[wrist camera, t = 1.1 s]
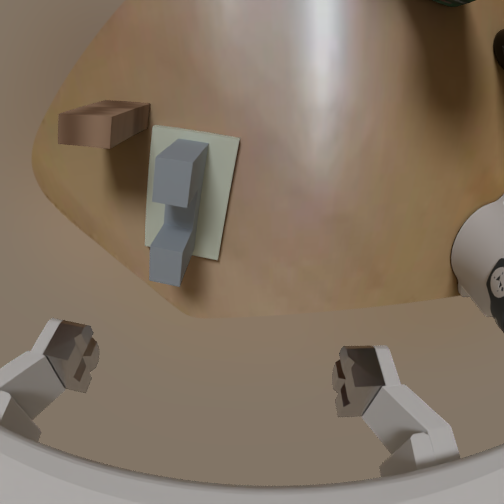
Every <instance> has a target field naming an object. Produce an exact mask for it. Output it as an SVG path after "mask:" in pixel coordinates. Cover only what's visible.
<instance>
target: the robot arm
mask: <svg viewBox="0 0 504 504" xmlns="http://www.w3.org/2000/svg"><path fill="white" fill-rule="evenodd" d="M451 264H452V268H453V271H454V273H455V275H456V277H457V279H458V292H459V293H460V295H461V296H462V297H471V299H472V300H473V301H474V303H475V304H476V305H477V307H478V308H479V309H480V310H481V312H482V313H483V314H484V315H485V316H486V317H489V316H490V317H494V319H495V322H496V324H497V325H498V327H499V328H500V329H501V330H502V331H503V332H504V195H503V196H502V197H501V198H499V199H498V200H497V201H495V202H493V203H490V204H487V205H485V206H483V207H481V208H480V209H478V210H477V211H476V212H475V213H473V214H472V215H471V216H470V217H469V218H468V219H467V221H466V222H465V223H464V225H463V226H462V228H461V229H460V231H459V233H458V235H457V237H456V239H455V242H454V245H453V248H452V254H451ZM92 335H93V331H92V328H91V326H89V325H84V324H79V323H74V322H69V321H65V320H60V319H55V318H52V319H50V320H49V321H48V322H47V324H46V326H45V327H44V329H43V331H42V332H41V334H40V336H39V338H38V339H37V341H36V343H35V344H34V346H33V348H32V350H31V352H30V351H26V352H25V353H23V354H22V355H20V356H19V357H17V358H15V359H14V360H13V361H11V362H9V363H8V364H6V365H5V366H3V367H2V368H0V504H504V444H502V445H499V446H496V447H493V448H491V449H488V450H485V451H482V452H479V453H476V454H474V455H470V456H468V457H464V458H460V455H459V452H458V448H457V445H456V441H455V438H454V435H453V432H452V429H451V426H450V425H449V424H448V423H447V422H446V421H445V420H443V419H442V418H441V417H440V416H439V415H438V414H437V413H436V412H435V411H434V410H433V409H431V408H430V407H429V406H428V405H427V404H426V403H425V402H424V401H423V400H421V399H420V398H419V397H418V396H417V395H416V394H415V393H414V392H413V391H412V390H410V389H409V388H408V387H407V386H406V385H401V383H400V380H399V377H398V374H397V371H396V368H395V365H394V362H393V359H392V356H391V353H390V350H389V348H388V347H387V346H343V347H342V348H341V350H340V353H339V356H340V360H338V361H337V362H336V363H335V365H334V368H333V374H332V383H333V389H334V390H335V391H336V392H337V393H338V396H337V398H336V400H335V403H336V409H337V415H338V417H354V416H362V418H363V420H364V421H365V422H366V423H367V425H368V426H369V427H370V428H371V430H372V431H373V432H374V433H375V434H376V436H377V437H378V438H379V439H380V441H381V442H382V443H383V444H384V446H385V447H386V448H387V449H388V451H389V452H390V453H391V454H392V455H391V456H390V457H389V458H388V459H387V460H385V461H384V462H383V463H382V464H381V466H380V473H381V477H379V478H373V479H366V480H359V481H351V482H342V483H331V484H318V485H299V486H298V485H297V486H252V485H232V484H218V483H208V482H198V481H190V480H183V479H176V478H169V477H163V476H158V475H152V474H147V473H142V472H137V471H132V470H128V469H124V468H119V467H115V466H111V465H108V464H104V463H100V462H96V461H93V460H89V459H86V458H82V457H79V456H76V455H73V454H70V453H67V452H64V451H61V450H59V449H56V448H53V447H50V446H48V445H45V444H42V443H40V442H38V440H39V438H40V435H41V431H40V429H39V428H38V426H37V425H36V424H35V423H34V422H33V421H32V420H33V419H34V418H35V417H36V416H37V415H38V414H40V413H41V412H42V411H43V410H44V409H45V408H46V407H47V406H48V405H49V404H50V403H51V402H53V401H54V400H55V399H56V398H57V397H58V396H59V395H60V394H61V393H63V392H64V391H65V389H69V390H74V391H78V392H83V393H86V392H87V389H88V386H89V384H90V381H91V379H92V377H91V374H90V372H91V371H92V370H94V369H95V368H96V366H97V364H98V360H99V346H98V344H97V342H96V341H95V340H94V339H93V338H92Z"/></svg>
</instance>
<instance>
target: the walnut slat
mask: <svg viewBox="0 0 504 504" xmlns="http://www.w3.org/2000/svg"><path fill="white" fill-rule="evenodd" d="M149 109H150V104H149V103H138V102H126V101H110V100H104V101H101V102H97V103H93V104H90V105H86V106H83V107H79V108H76V109H73V110H70V111H66V112H63V113H60V114H59V120H58V144H67V145H78V146H88V147H98V148H107V149H110V148H112V147H114V146H116V145H117V144H119V143H121V142H123V141H124V140H126V139H128V138H130V137H132V136H133V135H135V134H137V133H139V132H141V131H143V130H145V129H146V128H147V127H148V118H149Z"/></svg>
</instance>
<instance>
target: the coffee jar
mask: <svg viewBox="0 0 504 504" xmlns="http://www.w3.org/2000/svg"><path fill="white" fill-rule="evenodd" d="M433 1H435V2H438V3H441V4H443V5H446V6H450V7H456V6H460V5H463V4H467V3H470V2H472V1H475V0H433Z"/></svg>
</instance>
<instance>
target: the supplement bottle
mask: <svg viewBox="0 0 504 504" xmlns="http://www.w3.org/2000/svg"><path fill="white" fill-rule="evenodd" d="M494 50H495V55H496V58H497V60H498V62H499V64H500V65H501V67H502V68H503V69H504V29H502V30H500V31H499V32H498V33H497V34H496V37H495V40H494Z"/></svg>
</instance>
